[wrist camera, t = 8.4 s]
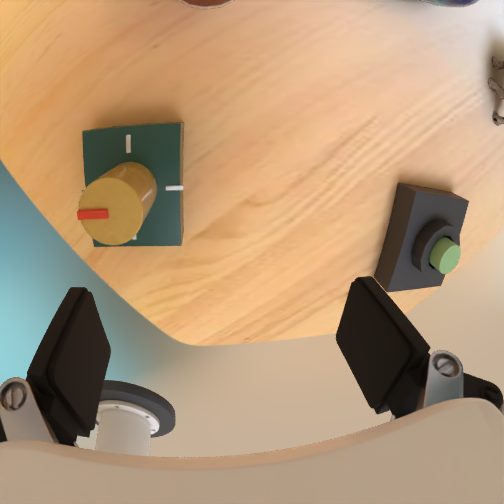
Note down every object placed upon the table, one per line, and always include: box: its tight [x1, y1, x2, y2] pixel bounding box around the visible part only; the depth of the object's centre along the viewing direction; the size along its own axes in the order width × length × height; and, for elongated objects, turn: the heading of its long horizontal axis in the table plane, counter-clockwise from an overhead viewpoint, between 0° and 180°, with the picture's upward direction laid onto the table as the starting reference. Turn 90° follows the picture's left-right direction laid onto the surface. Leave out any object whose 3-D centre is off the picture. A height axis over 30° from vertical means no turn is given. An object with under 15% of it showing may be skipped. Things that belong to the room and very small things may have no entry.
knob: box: [77, 162, 157, 245], centre depth 18 cm, size 4×4×6 cm
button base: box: [374, 183, 469, 292], centre depth 28 cm, size 12×10×5 cm
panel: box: [82, 122, 184, 247], centre depth 21 cm, size 10×9×3 cm
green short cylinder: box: [429, 237, 461, 274], centre depth 25 cm, size 4×4×2 cm
